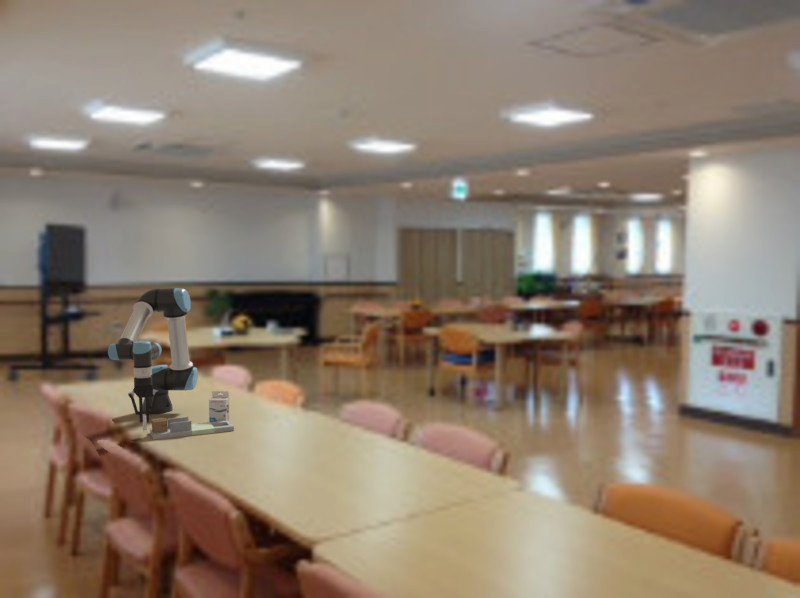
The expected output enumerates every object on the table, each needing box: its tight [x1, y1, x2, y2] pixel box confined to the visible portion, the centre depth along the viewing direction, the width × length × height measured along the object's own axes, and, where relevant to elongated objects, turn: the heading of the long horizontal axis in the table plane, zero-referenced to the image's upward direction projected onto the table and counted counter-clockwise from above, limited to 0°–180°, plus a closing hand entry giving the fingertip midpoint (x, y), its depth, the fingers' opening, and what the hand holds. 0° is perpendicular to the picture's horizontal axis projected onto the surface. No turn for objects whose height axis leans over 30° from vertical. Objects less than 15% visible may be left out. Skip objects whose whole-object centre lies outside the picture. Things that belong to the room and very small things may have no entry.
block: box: [151, 417, 168, 433], centre depth 321 cm, size 6×6×5 cm
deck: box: [149, 416, 235, 440], centre depth 327 cm, size 13×35×6 cm, turn 115°
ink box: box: [208, 390, 230, 422], centre depth 344 cm, size 9×5×15 cm, turn 84°
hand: (144, 429), depth 319 cm, fingers closed
